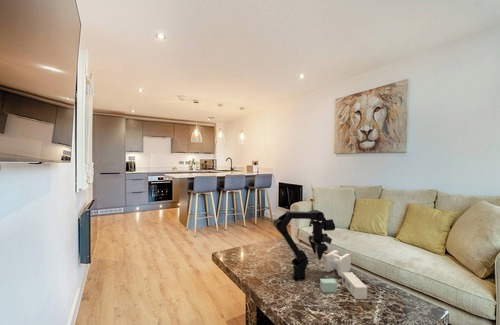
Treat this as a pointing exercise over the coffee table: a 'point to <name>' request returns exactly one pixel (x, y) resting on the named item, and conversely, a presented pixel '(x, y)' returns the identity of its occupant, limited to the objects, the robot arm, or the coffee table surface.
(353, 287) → the bar
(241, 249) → the coffee table surface
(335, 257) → the cable organizer
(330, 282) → the charger
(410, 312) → the coffee table surface
